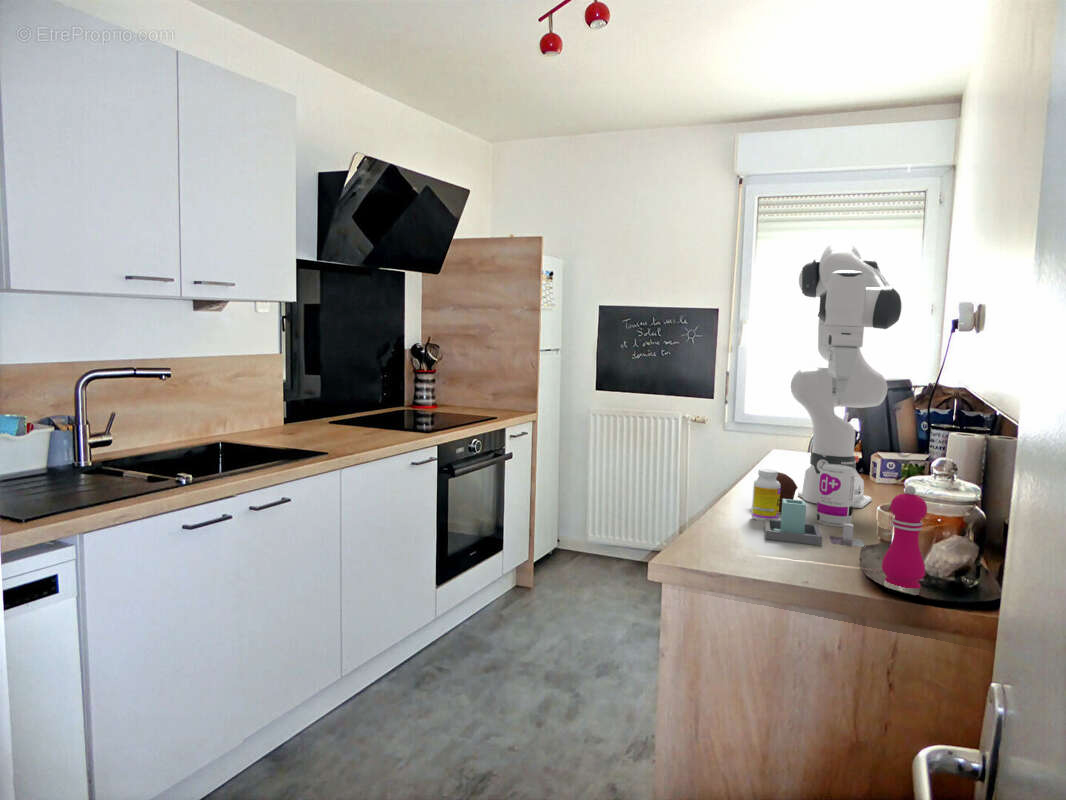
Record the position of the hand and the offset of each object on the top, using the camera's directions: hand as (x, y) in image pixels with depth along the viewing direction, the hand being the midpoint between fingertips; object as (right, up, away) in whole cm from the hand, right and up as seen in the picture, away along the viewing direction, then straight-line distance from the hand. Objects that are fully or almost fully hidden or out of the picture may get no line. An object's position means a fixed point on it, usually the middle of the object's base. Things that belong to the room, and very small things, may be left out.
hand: (837, 397), depth 174 cm
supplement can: (+4, -33, +12) cm, 35 cm away
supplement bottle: (-13, -32, +14) cm, 37 cm away
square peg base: (0, -34, -6) cm, 34 cm away
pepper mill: (-4, -37, -38) cm, 53 cm away
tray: (-12, -33, -3) cm, 35 cm away
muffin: (-6, -31, +27) cm, 41 cm away
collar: (-12, -32, -3) cm, 35 cm away
